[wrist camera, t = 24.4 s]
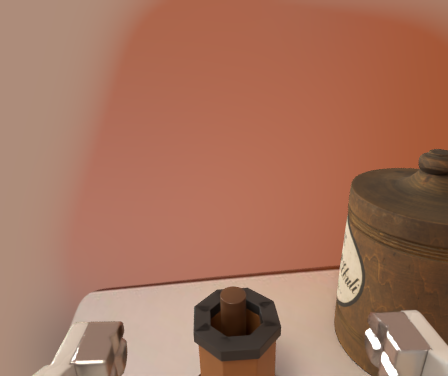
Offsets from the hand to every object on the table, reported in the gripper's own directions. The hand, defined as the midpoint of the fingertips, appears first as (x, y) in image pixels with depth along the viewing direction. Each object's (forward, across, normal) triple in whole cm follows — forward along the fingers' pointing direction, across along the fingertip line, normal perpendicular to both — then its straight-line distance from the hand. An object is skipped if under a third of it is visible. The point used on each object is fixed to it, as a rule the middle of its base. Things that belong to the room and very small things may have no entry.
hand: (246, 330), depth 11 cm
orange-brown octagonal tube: (+12, 0, +20) cm, 24 cm away
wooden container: (+20, -20, +22) cm, 36 cm away
